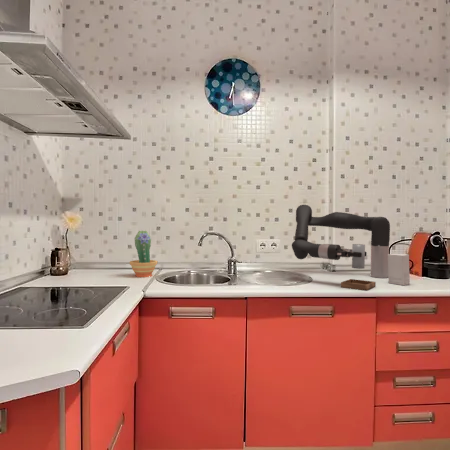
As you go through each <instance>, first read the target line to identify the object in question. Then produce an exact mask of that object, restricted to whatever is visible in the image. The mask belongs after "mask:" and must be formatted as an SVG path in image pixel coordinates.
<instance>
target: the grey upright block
mask: <svg viewBox="0 0 450 450" xmlns="http://www.w3.org/2000/svg"><path fill="white" fill-rule="evenodd" d="M351 247H352V248H351V249H352V252H361V253H362V257H351V268H352V269H359V270H362V269H365V267H366V266H365V263H366V261H365V259H366V258H365V257H366V256H365V252H366V244H364V243H362V244H361V243H352V246H351Z"/></svg>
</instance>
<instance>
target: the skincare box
mask: <svg viewBox="0 0 450 450" xmlns="http://www.w3.org/2000/svg"><path fill="white" fill-rule="evenodd" d="M387 278H388V284H393V285H399V286H405V285H406V286H407V285H410V282H411V281H410V280H411V279H410V278H411V276H410V255H409V254H408V253H389V254H388V277H387Z"/></svg>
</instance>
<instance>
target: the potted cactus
mask: <svg viewBox="0 0 450 450" xmlns="http://www.w3.org/2000/svg"><path fill="white" fill-rule="evenodd" d="M151 246H152V237H151V235H150V233H148V231H147V230H138V232H137V234H136V235H135V236H134V247H135V249H136V252H137V258H138V260H137V259H136V260H130V261H129V262H128V263H129V265H130V266H131V269H132V271H133V272H134V275H135V277H136V276H137V277H136V278H149V276H150V277H152V276H153V272H154V271H155V270H156V266H157V265H158V260H155V259H151V254H150V253H151V252H150V251H151Z"/></svg>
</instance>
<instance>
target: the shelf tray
mask: <svg viewBox="0 0 450 450" xmlns="http://www.w3.org/2000/svg"><path fill="white" fill-rule="evenodd" d="M376 283H377V282H376V281H372V280H371V281H370V280H363V279H355V278H350V279H346V280H343V281H340V288H342V289H343V288H344V289H350V288H351V290H357V289H358V291H359V290H360V291H367V292H368V291H369V290H371V289H374V288H376V285H377V284H376Z"/></svg>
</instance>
